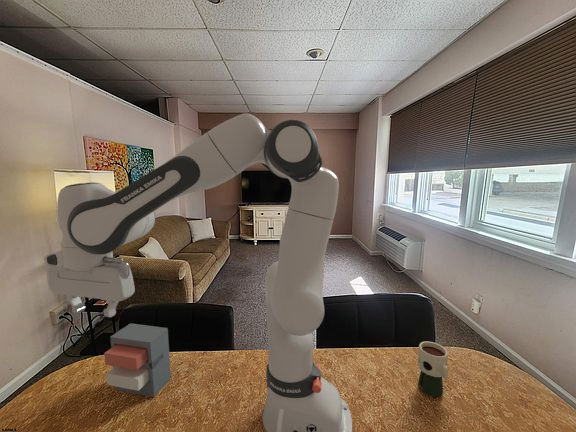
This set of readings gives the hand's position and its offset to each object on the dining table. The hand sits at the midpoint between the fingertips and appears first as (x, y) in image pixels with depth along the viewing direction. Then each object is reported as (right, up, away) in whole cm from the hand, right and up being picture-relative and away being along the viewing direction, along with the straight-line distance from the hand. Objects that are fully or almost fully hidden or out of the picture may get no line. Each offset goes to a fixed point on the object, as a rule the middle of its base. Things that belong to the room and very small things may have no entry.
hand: (94, 313), depth 58 cm
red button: (+1, -17, +11) cm, 21 cm away
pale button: (+1, -23, +11) cm, 26 cm away
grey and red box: (+2, -28, +17) cm, 32 cm away
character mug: (+86, -28, +14) cm, 92 cm away
